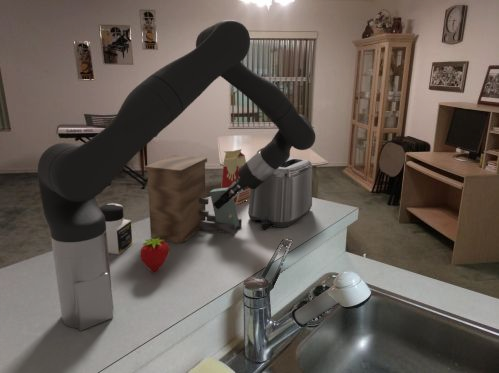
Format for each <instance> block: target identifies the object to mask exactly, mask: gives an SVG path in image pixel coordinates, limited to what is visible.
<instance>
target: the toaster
mask: <svg viewBox="0 0 499 373" xmlns="http://www.w3.org/2000/svg"><path fill="white" fill-rule="evenodd" d="M312 206H313V164H312V162H311V161H310V160H309V159H305V158H298V157H294V156H293V157H292V156H290V157H289V159H288V160H287V161H286V162H285V163H283V164H282V165H281V166H280V167H279V168H278V169H277V170H275V172H274V173H273V174H272V175H271V176H270V177H269V178H267V179H266V180H265V181H264V182H263V183H262V184H260V185H259V186H258V187H257V188H256V189H250V199H249V200H248V208H247V209H248V211H247V212H248V217H249V219H250V220H251V221H254V222H255V221H261V223H260V229H261V230H262V231H266V230H267V229H269V228H271V226H272V227H277V228H287V227H288V226H291V225H292V224H293V223H295V222H296V221H297V220H299V219H300V218H301V217H303V216H304V215H306V214H308V213H309V212H310V210H311V208H312ZM307 212H308V213H307Z"/></svg>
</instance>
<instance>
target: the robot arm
mask: <svg viewBox="0 0 499 373" xmlns="http://www.w3.org/2000/svg"><path fill="white" fill-rule="evenodd" d="M250 46H251V36H250V32H249V30H248V28H247V27H246V26H245V25H244V24H243V23H242V22H239V21H238V20H234V19H225V20H221V21H219V22H217V23H215V24H213V25H211V26H208V27H207V28H204V29H203V30H202V31H201V32H199V34H198V35H197V37H196V41H195V48H194V49H193V50H191V51H190V52H188V53H186V54H184V55H183V56H181V57H178V58H177V59H175V60H173V61H171V62H169V63H168V64H166V65H164V66H163V67H161V68H160V69H158V70H156V71H155V72H154V73H152V74H151V75H149V76H148V77H147V78H146V79H144V80H143V81H142V82H141V83H139V84H138V85H137V86H136V87H134V88H133V89H132V90H131V91H130V92H129V94H128V95H127V96H126V98H125V99H124V101H123V102H122V104H121V106H120V108H119V110H118V112H117V114H116V115H115V117H114V119H113V120H112V121H111V122H110V123H109V124H108V125H107V126H106V127H105V128H104V129H103V130H100V132H98V133H97V134H96V135H94V136H93V137H92V138H91V139H88V141H86V142H85V143H83V144H80V145H78V144H75V143H71V142H61V143H60V142H59V143H56V144H53V145H51V146H49V147H48V148H47V149H46V150H44V152H42V154H41V156H40V158H39V160H38V163H37V180H38V187H39V192H40V193H39V194H40V198H41V205H42V209H43V211H42V212H43V214H44V218H45V220H46V223H47V225H48V227H49V231H50V232H49V233H50V238H51V239H50V240H51V245H52V254H53V261H54V269H55V277H56V284H57V291H58V292H57V293H58V298H59V299H58V300H59V304H60V312H61V319H62V322H63V323H64V325H66V327H67V326H68V327H70V328H76V329H78V330H79V331H80V332H81V331H84V330H86V329H87V330H88V329H89V328H91V327H94V326H96V325H98V324H101V323H103V322H106V321H107V320H108V321H109V320H110V319H113V318H114V301H113V299H114V298H113V290H112V281H111V268H110V259H109V256H110V255H109V253H108V245H107V233H106V221H105V216H104V214H103V212H102V211H101V210H100V206H99V205H98V202H97V200H96V197H97V196H99V194H101V193H102V192H103V191H104V190H105V189H106V188H107V187H108V186H109V185H110V184H111V182H113V180H114V179H116V177H117V176H118V175H119V173H121V171H122V170H123V169H124V168H125V167H126V166H127V165H128V164H129V162H130V161H131V160H132V159H133V158H134V157H135V156H136V154H138V153H139V152H140V151H141V150H143V148H145V147H146V146H147V145H148V144H149V143H150V142H151V141H152V140H153V139H154V138H156V136H158V135H159V134H161V132H162V131H164V129H165V128H167V127H168V126H169V125H170V124H172V123H173V121H174V122H175V120H176V119H177V118H178V117H179V116H181V114H183V112H185V110H187V108H188V107H189V106H190V105H192V104H193V103H194V102H195V100H197V99H198V98H199V97H200V96H201V95H202V94H203V93H204V92H205V91H206V90H207V89H208V88H209V87H210V86H211V84H212V83H214V82H215V81H216V80H217V79H218V78H220V77H221V78H222V79H224V80H225V81H226V82H227V83H229V84H230V85H231V86H233V87H234V88H235V89H237V91H239V92H241V94H243V95H244V96H245V97H246V98H248V100H250V101H251V102H252V103H253V104H254V105H255V106H256V107H257V108H258V109H259V110H260V111H261V112H262V113H263V114H264V115H265V116H266V117H267V118H268V119H269V120H270V121H271V123H273V124H274V125H275V126H276V128H277V129H278V130H277V132H276V133H275V135H274V137H272V139H271V141H270V142H268V144H267V143H266V145H265V146H264V147H262V148H263V149H262V148H261V149H262V150H261V151H260V152H258V151H257V152H258V153H257V152H256V153H255V154H254V155H253V156H251V158H249V159H248V160H247V161H246V163H245V164H244V165H243V166H242V167H241V168H240V169H239V170H238V176H239V178H238V179H237V180H235V181H234V182H233V183H232V185H231V186H230V187H229V188H228V189H226V192H225V193H224V194H223V195H221V197H220V199H218V200H217V201H216V202H215V203H214V206H215V207H216V208H217V209H219V208H220V207H222V206H223V205H224V204H225V203H227V202H229V200H230V199H231V198H232V199H234V198H235V197H236V196H237V195H238V194H240V193H242V192H243V191H244V190H245V189H247V188H250V189H256V188H257V187H258V186H259V185H260V184H262V183H263V182H264V181H265V180H266V179H267V178H269V177H270V176H271V175H272V174H273V173H274V172H275V170H277V169H278V168H279V167H280V166H281V165H282V164H283V163H285V162H286V161H287V160H288V159H289V157H291V156H290V155H291V149H292V148H294V149H296V150H299V151H306V150H309V149H311V148H312V147H313V146H314V144H315V142H316V132H315V130H314V128H313V126H312V124H311V121H310V119H309V118H308V117H307V116H305V115H304V114H300V113H299V112H298V110H297V109H296V107H295V104H294V103H293V102H292V101H291V99H289V97H288V96H287V95H286V94H285V93H284V92H283V91H282V90H281V89H280V87H278V86H277V85H276V84H274V83H273V82H271V81H270V80H268V79H266V78H265V77H263V76H261V75H259V74H257V73H256V72H254V71H253V70H251V69H250V67H247V66H246V65H245V64H244V63H243V62H242V61H243V60H244V59H245V58H246V56H248V53H249V50H250Z"/></svg>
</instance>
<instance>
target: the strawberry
mask: <svg viewBox="0 0 499 373" xmlns="http://www.w3.org/2000/svg"><path fill="white" fill-rule="evenodd" d="M159 238H160V237H159ZM159 238H157V239H153V238H151V237H150V239H144V241H146V242H144V243H143V246H142V247H141V249H140V254H139V257H140V260H141V261H142V264H144V266H146V268H147V269H149V270H150V272H152V273H157V272H159V270H160V268H161V267H162V266H163V265H164V263H165V262H166V261H167V259H168V256H169V252H170V247H169V243H167V242H165V240H159Z"/></svg>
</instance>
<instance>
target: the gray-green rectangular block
mask: <svg viewBox="0 0 499 373" xmlns="http://www.w3.org/2000/svg"><path fill="white" fill-rule="evenodd" d="M226 189H228V188H221V187H219V188H213V189H212V190H211V191H209V193H210V194H209V195H210V198H211V203H212V208H213V212H214V215H215V218H216V222H218V223H225V224H232V225H236V228H238V227H237V226H238V225H239V221H238V218H239V216H238V212H237V207H236V205H235V202H234V199H232V198H231V199H230V200H229V202H227V203H225V204H224V205H223V206H222V207H220V208H219V209H217V208H216V207H215V206H214V203H215V202H216V201H217V200H218V199H220V197H221V195H223V194H224V193H225V192H226Z"/></svg>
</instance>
